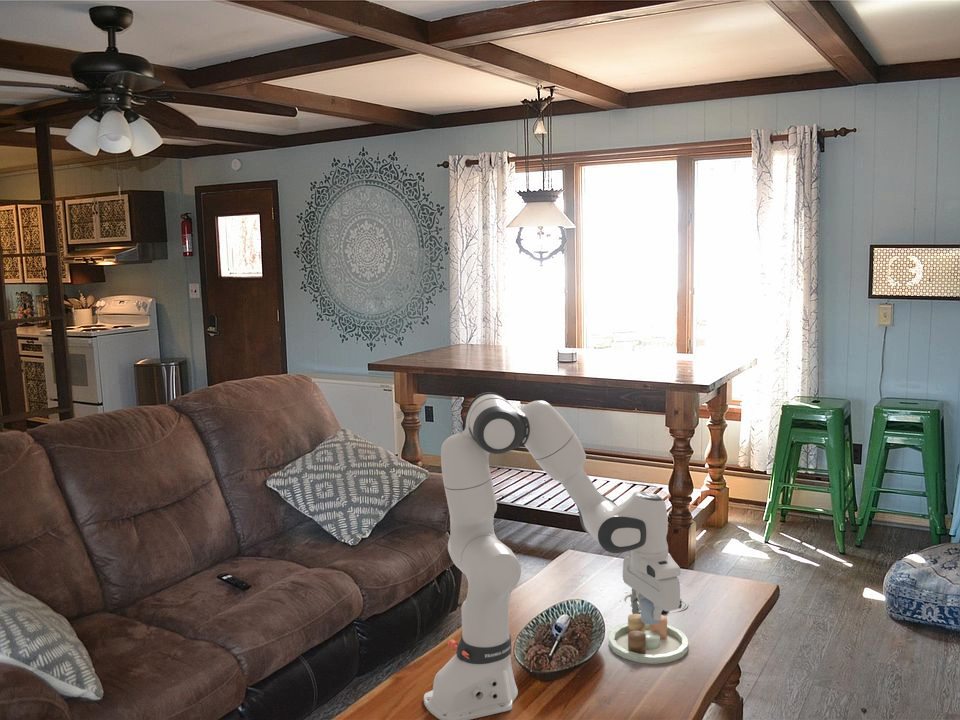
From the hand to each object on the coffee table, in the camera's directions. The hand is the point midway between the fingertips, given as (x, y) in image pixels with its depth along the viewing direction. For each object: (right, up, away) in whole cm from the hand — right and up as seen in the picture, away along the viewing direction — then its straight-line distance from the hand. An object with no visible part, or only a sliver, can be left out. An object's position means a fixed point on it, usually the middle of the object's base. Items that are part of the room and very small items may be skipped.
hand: (650, 613), depth 204 cm
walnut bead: (-1, -14, +12) cm, 18 cm away
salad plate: (+10, -11, +42) cm, 44 cm away
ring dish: (+3, -14, +17) cm, 22 cm away
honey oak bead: (+1, -12, +22) cm, 25 cm away
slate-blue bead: (0, -2, 0) cm, 2 cm away
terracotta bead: (+6, -12, +21) cm, 25 cm away
